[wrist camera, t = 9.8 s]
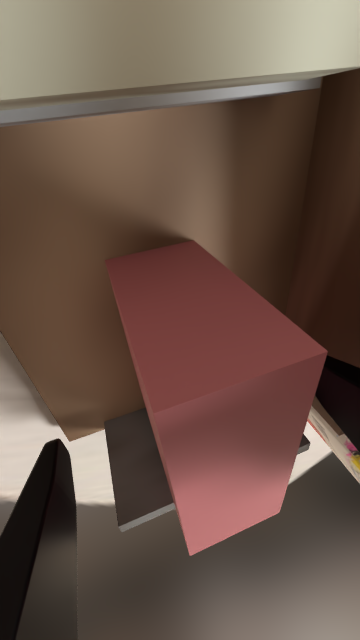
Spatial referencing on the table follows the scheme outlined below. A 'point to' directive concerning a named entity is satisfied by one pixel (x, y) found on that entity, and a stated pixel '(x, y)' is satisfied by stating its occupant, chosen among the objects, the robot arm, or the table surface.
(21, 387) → the table surface
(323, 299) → the shelf
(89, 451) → the table surface
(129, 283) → the tall dusty pink block
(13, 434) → the table surface
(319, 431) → the ink cartridge box
